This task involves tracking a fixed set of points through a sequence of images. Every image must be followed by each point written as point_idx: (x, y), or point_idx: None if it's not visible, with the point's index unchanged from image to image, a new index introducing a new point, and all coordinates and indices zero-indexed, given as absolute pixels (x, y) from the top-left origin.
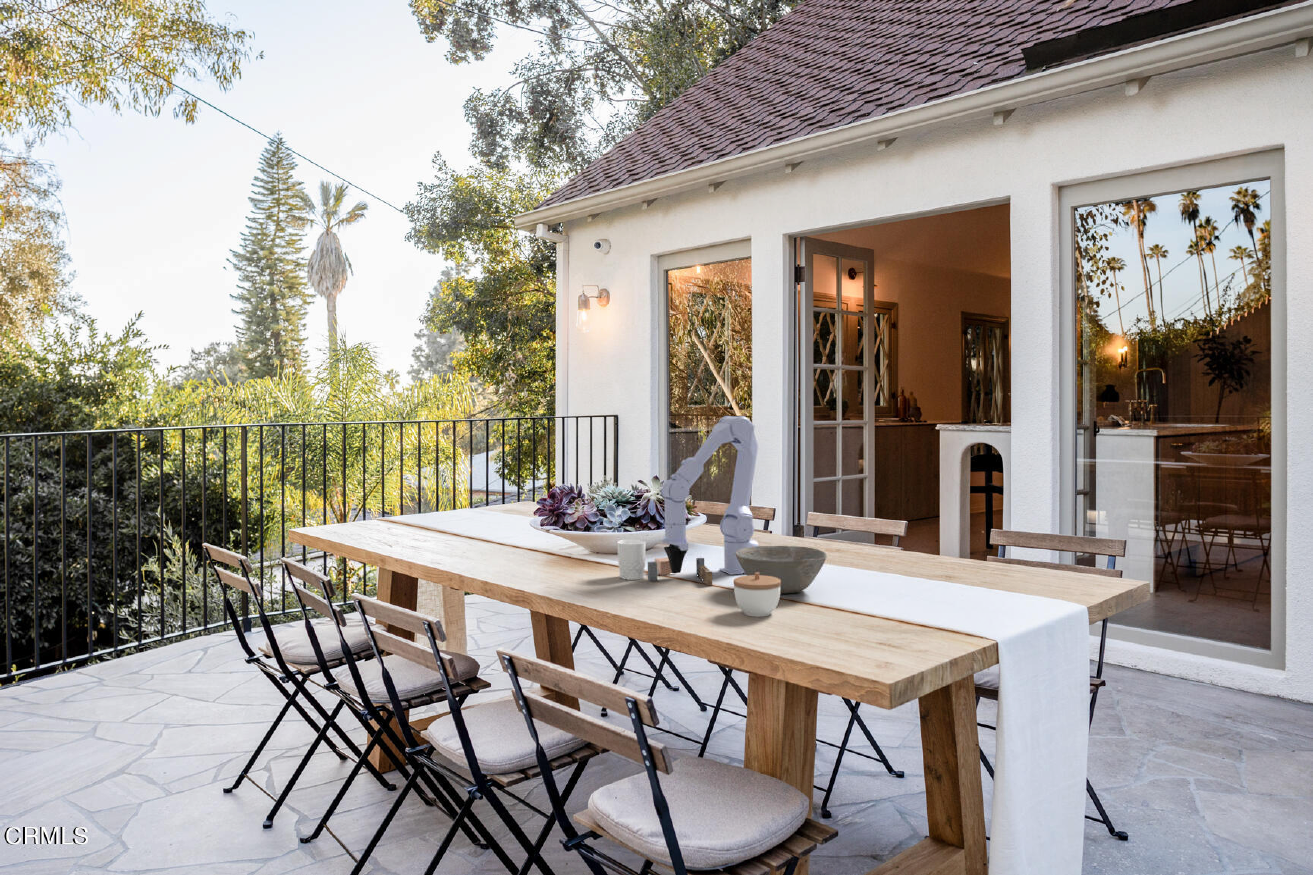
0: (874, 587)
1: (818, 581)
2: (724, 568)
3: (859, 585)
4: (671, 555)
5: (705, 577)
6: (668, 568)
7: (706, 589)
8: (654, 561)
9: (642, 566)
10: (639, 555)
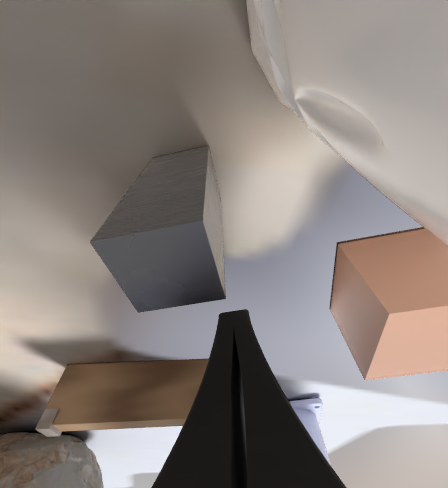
0: (105, 480)
1: (148, 462)
2: (309, 408)
3: (118, 476)
4: (167, 459)
5: (98, 389)
6: (350, 305)
7: (5, 358)
8: (221, 296)
9: (304, 121)
10: (353, 36)
